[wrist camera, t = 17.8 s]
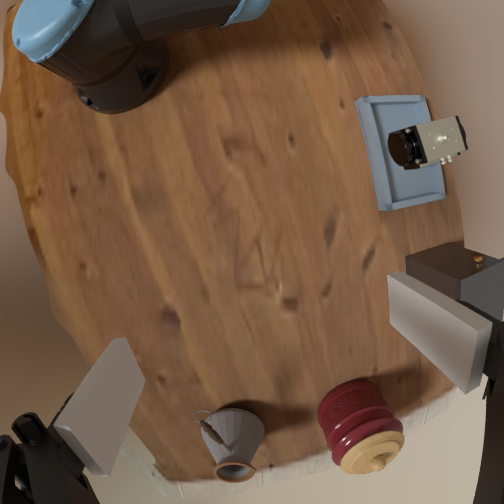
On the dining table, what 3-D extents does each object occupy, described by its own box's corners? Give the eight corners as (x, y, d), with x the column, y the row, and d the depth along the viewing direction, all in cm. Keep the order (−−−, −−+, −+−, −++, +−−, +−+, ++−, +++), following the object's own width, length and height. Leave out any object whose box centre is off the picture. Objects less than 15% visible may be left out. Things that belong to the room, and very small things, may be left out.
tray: (354, 101, 38) (362, 96, 35) (414, 99, 38) (424, 95, 35) (378, 209, 42) (387, 211, 39) (435, 197, 42) (445, 198, 39)
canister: (377, 414, 51) (411, 471, 33) (318, 433, 50) (341, 498, 33) (378, 369, 48) (423, 429, 31) (312, 390, 48) (340, 462, 30)
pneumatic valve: (365, 140, 39) (408, 126, 27) (421, 125, 38) (468, 113, 27) (377, 175, 40) (423, 173, 28) (431, 157, 40) (481, 153, 28)
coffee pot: (268, 434, 49) (277, 493, 35) (212, 443, 49) (209, 501, 35) (243, 350, 45) (248, 413, 30) (175, 362, 45) (157, 423, 30)
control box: (403, 253, 43) (461, 278, 29) (449, 239, 43) (507, 257, 29) (406, 313, 46) (455, 352, 31) (450, 295, 46) (501, 325, 31)
